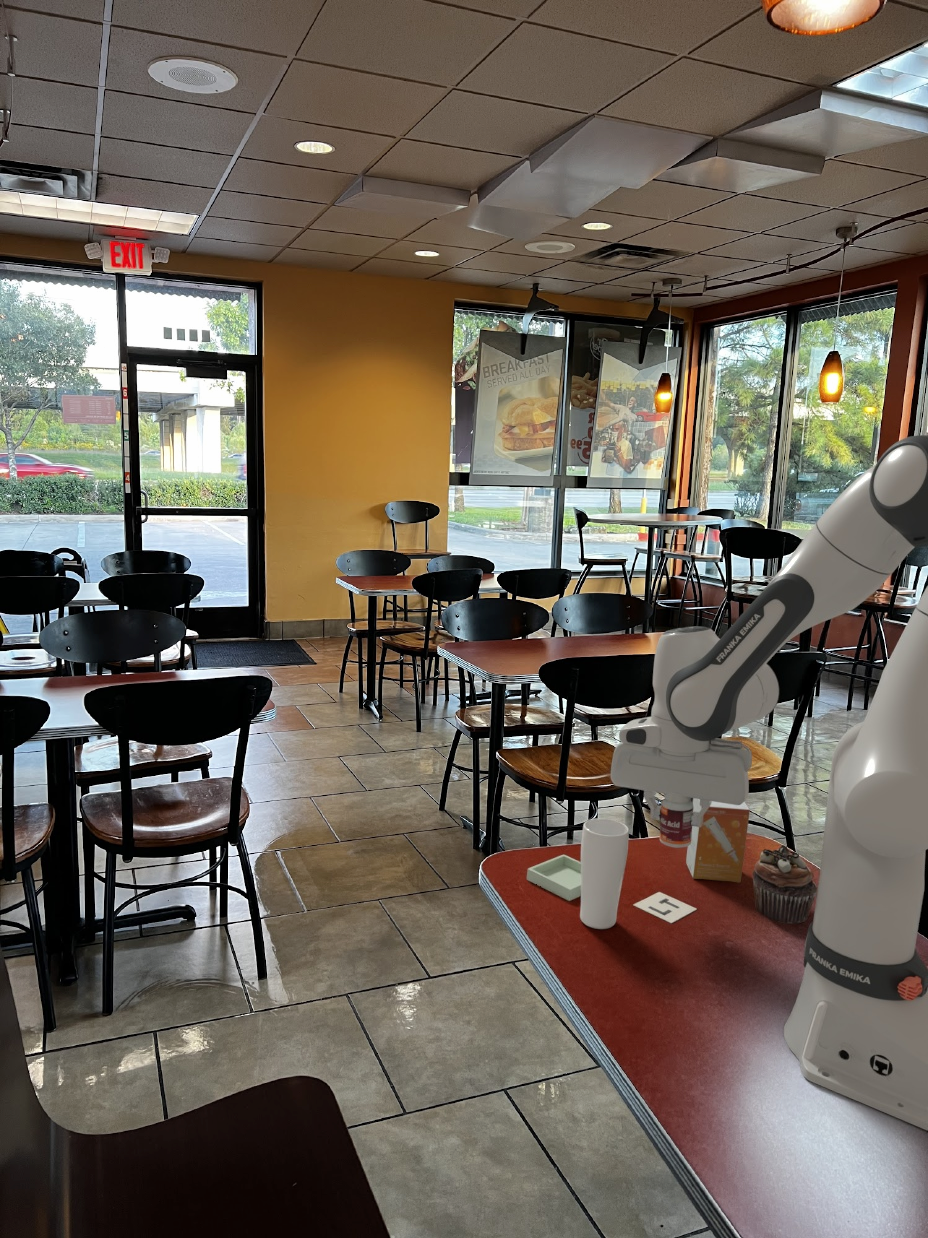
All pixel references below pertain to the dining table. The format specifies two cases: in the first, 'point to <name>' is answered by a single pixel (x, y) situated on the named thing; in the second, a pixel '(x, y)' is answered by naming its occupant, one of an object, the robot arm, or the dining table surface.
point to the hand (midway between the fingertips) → (676, 822)
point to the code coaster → (665, 907)
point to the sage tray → (558, 876)
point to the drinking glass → (602, 870)
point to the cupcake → (783, 886)
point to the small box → (718, 842)
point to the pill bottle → (676, 820)
